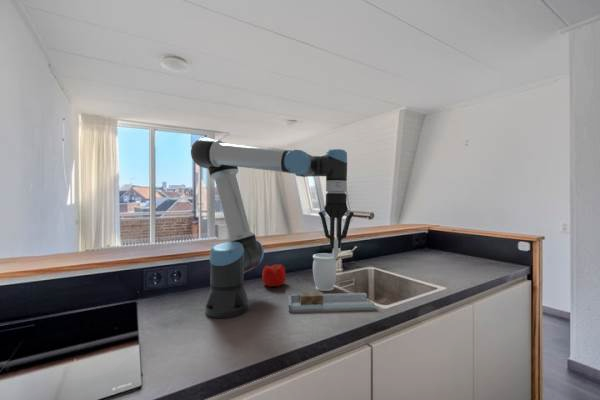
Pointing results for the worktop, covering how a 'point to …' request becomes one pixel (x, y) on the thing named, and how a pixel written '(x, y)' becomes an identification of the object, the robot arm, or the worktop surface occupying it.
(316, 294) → the brown wooden cube
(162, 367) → the worktop surface
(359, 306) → the slot rail
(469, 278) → the worktop surface
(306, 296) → the chip
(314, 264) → the jar
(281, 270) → the tomato
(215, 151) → the robot arm
